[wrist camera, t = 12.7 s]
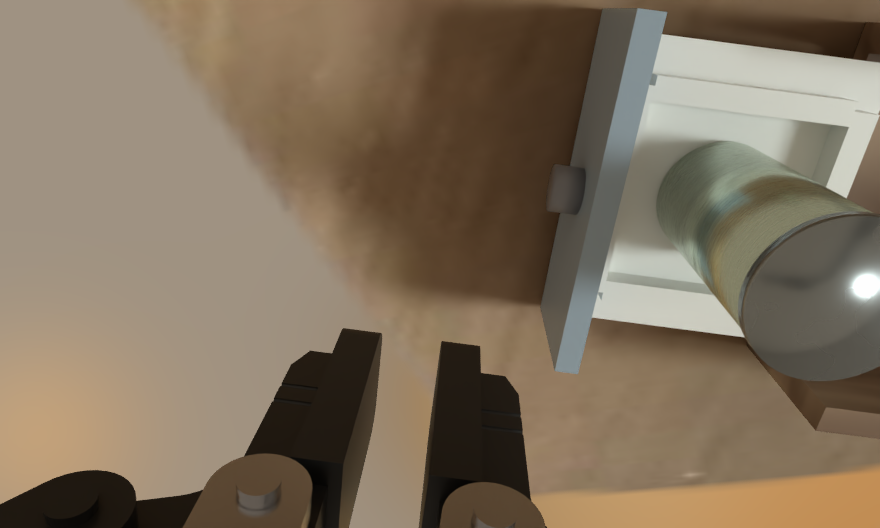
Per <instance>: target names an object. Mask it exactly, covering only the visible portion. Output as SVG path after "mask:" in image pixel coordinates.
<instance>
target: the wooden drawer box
mask: <svg viewBox="0 0 880 528" xmlns="http://www.w3.org/2000/svg"><path fill="white" fill-rule="evenodd" d="M853 59H855V60H863V61H870V62H878V63H880V23H872V22H866V24H865V27H864V29H863V32H862V35H861V37H860V40H859V43H858V46H857V48H856V51H855V54H854V56H853ZM878 115H880V111H879V113H878ZM847 199H849V200H851V201H852V202H854V203H856V204H858V205H860V206H862V207H863V208H865V209H867V210H869V211H871V212H873V213H876V214H880V116H879V118H878V121H877V123H876V126H875V128H874V131H873V133H872V136H871V138H870V141H869V144H868V146H867V149H866V151H865V154H864V156H863V159H862V161H861V164H860V166H859V169H858V171H857V174H856V176H855V179H854V181H853V184H852V186H851V189H850V191H849V194H848V196H847ZM747 347H748V348H749V349H750V350H751V352H752V353H753V354H754V355H755V356H756V358H757V359H758V360H759V361H760V363H761V364H762V365H763V366H764V368H765V369H766V370H767V371H768V372H769V374H770V375H771V376H772V377H773V379H774V380H775V381H776V382H777V384H778V385H779V386H780V387H781V388H782V390H783V391H784V392H785V393H786V395H787V396H788V397H789V398H790V400H791V401H792V402H793V403H794V404H795V406H796V407H797V408H798V409H799V411H800V412H801V413H802V414H803V416H804V417H805V418H806V419H807V420H808V422H809V423H810V424H811V425H812V427H813V428H814V429H815V430H816V431H823V432H831V433H838V434H846V435H854V436H861V437H869V438H877V439H880V366H879V367H877V368H875V369H873V370H870V371H868V372H866V373H863V374H860V375H857V376H854V377H850V378H845V379H840V380H833V381H808V380H802V379H797V378H793V377H790V376H787V375H785V374H782V373H780V372H778V371H776V370H775V369H773V368H772V367H770V366H768V365H767V364H766V363H765V362H764V361H763V360H762V359H761V358H760V357H759V356H758V355H757V354H756V352H755V351H754V350H753V349H752V347H751V346H750V345H749V343H748V344H747Z"/></svg>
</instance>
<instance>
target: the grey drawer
mask: <svg viewBox="0 0 880 528" xmlns="http://www.w3.org/2000/svg"><path fill="white" fill-rule="evenodd" d="M666 15H667V12H663V11H655V10H647V9H640V8H604V9H602V14H601V19H600V23H599V28H598V33H597V38H596V43H595V47H594V52H593V57H592V62H591V67H590V71H589V76H588V81H587V86H586V91H585V96H584V100H583V105H582V110H581V115H580V120H579V124H578V129H577V134H576V139H575V144H574V148H573V153H572V158H571V163H570V166H566V165H559V164H554V165H553V167H552V170H551V173H550V177H549V182H548V188H547V196H546V209H547V211H550V212H558V213H560V216H559V221H558V225H557V230H556V235H555V240H554V245H553V249H552V254H551V259H550V264H549V269H548V273H547V278H546V283H545V288H544V293H543V297H542V302H541V307H540V308H541V312H542V317H543V321H544V326H545V330H546V335H547V339H548V344H549V348H550V352H551V357H552V361H553V366H554V370H555V371H558V372H566V373H574V374H578V371H579V367H580V363H581V359H582V355H583V351H584V347H585V343H586V339H587V335H588V331H589V327H590V323H591V319H592V317H593V318H600V319H608V320H616V321H623V322H631V323H638V324H646V325H654V326H661V327H669V328H677V329H684V330H692V331H700V332H707V333H715V334H722V335H730V336H738V337H744V335H743V333H742V330H741V328H740V327H739V326H738V324H737V323H736V322H735V321H734V319H733V318H732V317H731V316H730V314H729V313H728V312H727V311H726V309H725V308H724V307H723V306H722V304H721V303H720V302H719V301H718V299H717V298H716V297H715V296H714V294H713V293H712V292H711V291H710V289H709V288H708V287H707V286H706V285H705V283H704V282H703V281H702V280H701V278H700V277H699V276H698V275H697V273H696V272H695V271H694V270H693V268H692V267H691V266H690V265H689V263H688V262H687V261H686V260H685V258H684V257H683V256H682V255H681V253H680V252H679V251H678V250H677V248H676V247H675V246H674V245H673V243H672V242H671V241H670V240H669V238H668V237H667V236H666V235H665V233H664V232H663V230H662V228H661V226H660V224H659V221H658V218H657V212H656V201H657V195H658V191H659V188H660V185H661V183H662V181H663V179H664V177H665V176H666V174H667V173H668V171H669V170H670V169H671V168H672V166H673V165H674V164H675V163H676V162H677V161H678V160H679V159H681V158H682V157H683V156H685V155H686V154H687V153H689V152H691V151H692V150H694V149H696V148H699V147H701V146H704V145H707V144H710V143H715V142H724V141H729V142H738V143H743V144H745V145H748V146H751V147H753V148H755V149H756V150H758V151H760V152H762V153H764V154H766V155H768V156H769V157H771V158H773V159H775V160H777V161H779V162H780V163H782V164H784V165H786V166H788V167H790V168H792V169H793V170H795V171H797V172H799V173H801V174H803V175H804V176H806V177H808V178H810V179H812V180H814V181H815V182H817V183H819V184H821V185H823V186H825V187H827V188H828V189H830V190H832V191H834V192H836V193H838V194H839V195H841V196H843V197H845V198H847V196H848V194H849V191H850V189H851V186H852V184H853V181H854V179H855V176H856V174H857V171H858V169H859V166H860V164H861V161H862V159H863V156H864V154H865V151H866V149H867V146H868V144H869V141H870V138H871V136H872V133H873V131H874V128H875V126H876V123H877V121H878V118H879V116H880V115H878V113H879V111H880V63H878V62H870V61H863V60H855V59H847V58H840V57H832V56H824V55H817V54H809V53H802V52H794V51H786V50H779V49H771V48H763V47H756V46H748V45H740V44H733V43H725V42H717V41H710V40H702V39H694V38H687V37H679V36H671V35H664V34H662V32H663V28H664V24H665V19H666Z"/></svg>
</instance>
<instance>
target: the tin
mask: <svg viewBox="0 0 880 528" xmlns="http://www.w3.org/2000/svg"><path fill="white" fill-rule="evenodd" d="M656 212H657V218H658V221H659V224H660V226H661V228H662V230H663V232H664V233H665V235H666V236H667V237H668V238H669V240H670V241H671V242H672V243H673V245H674V246H675V247H676V248H677V250H678V251H679V252H680V253H681V255H682V256H683V257H684V258H685V260H686V261H687V262H688V263H689V265H690V266H691V267H692V268H693V270H694V271H695V272H696V273H697V275H698V276H699V277H700V278H701V280H702V281H703V282H704V283H705V285H706V286H707V287H708V288H709V289H710V291H711V292H712V293H713V294H714V296H715V297H716V298H717V299H718V301H719V302H720V303H721V304H722V306H723V307H724V308H725V309H726V311H727V312H728V313H729V314H730V316H731V317H732V318H733V319H734V321H735V322H736V323H737V324H738V326H739V327H740V328H741V330H742V333H743V335H744V337H745V338H746V340H747V342H748V343H749V345H750V346H751V347H752V349H753V350H754V351H755V352H756V354H757V355H758V356H759V357H760V358H761V359H762V360H763V361H764V362H765V363H766V364H767V365H768V366H770V367H772V368H773V369H775V370H776V371H778V372H780V373H782V374H785V375H787V376H790V377H793V378H797V379H802V380H808V381H833V380H840V379H845V378H850V377H854V376H857V375H860V374H863V373H866V372H868V371H870V370H873V369H875V368H877V367H879V366H880V214H876V213H873V212H871V211H869V210H867V209H865V208H863V207H862V206H860V205H858V204H856V203H854V202H852V201H851V200H849V199H847V198H845V197H843V196H841V195H839V194H838V193H836V192H834V191H832V190H830V189H828V188H827V187H825V186H823V185H821V184H819V183H817V182H815V181H814V180H812V179H810V178H808V177H806V176H804V175H803V174H801V173H799V172H797V171H795V170H793V169H792V168H790V167H788V166H786V165H784V164H782V163H780V162H779V161H777V160H775V159H773V158H771V157H769V156H768V155H766V154H764V153H762V152H760V151H758V150H756V149H755V148H753V147H751V146H748V145H745V144H743V143H738V142H729V141H724V142H715V143H710V144H707V145H704V146H701V147H699V148H696V149H694V150H692V151H691V152H689V153H687V154H686V155H685V156H683V157H682V158H681V159H679V160H678V161H677V162H676V163H675V164H674V165H673V166H672V168H671V169H670V170H669V171H668V173H667V174H666V176H665V177H664V179H663V181H662V183H661V185H660V188H659V191H658V195H657V201H656Z"/></svg>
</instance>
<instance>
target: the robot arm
mask: <svg viewBox="0 0 880 528" xmlns="http://www.w3.org/2000/svg"><path fill="white" fill-rule="evenodd" d="M381 346H382V333H376V332H368V331H360V330H353V329H345V328H343V329H342V331H341V333H340V336H339V338H338V341H337V343H336V345H335V348H334V350H333V353H332V354H331V353H323V352H315V351H309V352H308V353H307V354H305V355H304V356H303V357H301V358H300V359H298V360H297V361H296V362H294V363H293V364H291V366H290V368H289V370H288V372H287V374H286V376H285V378H284V380H283V382H282V386H280V388H279V389H278V391H277V393H276V395H275V398H274V402H272V403H271V405H270V407H269V409H268V411H267V413H266V415H265V417H264V419H263V421H262V423H261V424H260V427H259V428H258V430H257V433H256V434H255V436H254V438H253V440H252V442H251V444H250V446H249V448H248V450H247V452H246V454H245V456H244V457H241V458H238V459H236V460H233V461H231V462H229V463H228V464H226V465H224V466H223V467H221V468H220V469H219V470H217V471H216V472H215V473H214V474H213V475H212V476H211V478H210V479H209V481H208V482H207V484H206V486H205V487H204V489H203V490H201V491H198V492H195V493H191V494H187V495H181V496H174V497H165V498H157V499H149V500H140V501H136V494H135V490H134V488H133V486H132V485H131V484H130V482H129V481H128V480H127V479H125V478H124V477H122V476H120V475H118V474H115V473H112V472H108V471H99V470H92V471H80V472H74V473H70V474H66V475H63V476H60V477H57V478H54V479H52V480H50V481H47V482H45V483H43V484H41V485H39V486H37V487H35V488H33V489H31V490H29V491H27V492H24V493H23V494H20V495H18V496H16V497H14V498H12V499H10V500H8V501H6V502H4V503H2V504H0V528H349V524H350V520H351V516H352V512H353V508H354V503H355V499H356V495H357V491H358V487H359V483H360V478H361V475H362V470H363V466H364V462H365V458H366V454H367V450H368V445H369V441H370V437H371V433H372V427H373V422H374V415H375V408H376V397H377V388H378V377H379V367H380V356H381ZM520 415H521V412H520V403H519V395H518V393H517V392H516V390H515V389H514V388H513V386H512V385H511V384H510V382H509V381H508V379H507V378H506V377H505V376H499V375H491V374H484V373H481V366H480V346H475V345H467V344H460V343H452V342H444V341H442V342H441V348H440V355H439V362H438V370H437V377H436V384H435V391H434V398H433V406H432V413H431V421H430V428H429V437H428V446H427V455H426V465H425V474H424V484H423V493H422V502H421V512H420V522H419V528H547V527H546V526H545V523H544V519H543V517H542V515H541V513H540V511H539V510H538V508H537V507H536V506H535V505H534V504H533V503H532V501H531V498H530V489H529V481H528V472H527V464H526V455H525V446H524V438H523V434H522V431H523V429H522V421H521V418H520Z"/></svg>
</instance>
